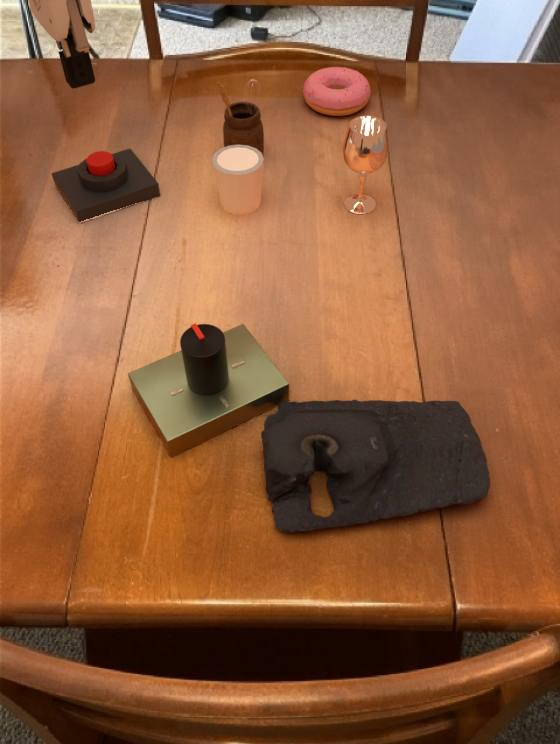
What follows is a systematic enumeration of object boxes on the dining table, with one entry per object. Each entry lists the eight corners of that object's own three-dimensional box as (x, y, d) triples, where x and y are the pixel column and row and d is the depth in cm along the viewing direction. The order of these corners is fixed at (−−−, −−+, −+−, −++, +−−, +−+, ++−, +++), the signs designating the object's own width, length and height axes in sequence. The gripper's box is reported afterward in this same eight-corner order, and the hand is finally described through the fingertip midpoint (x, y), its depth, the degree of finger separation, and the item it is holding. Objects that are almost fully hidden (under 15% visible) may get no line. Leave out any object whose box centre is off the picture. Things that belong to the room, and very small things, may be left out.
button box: (79, 224, 92) (72, 200, 89) (55, 186, 97) (47, 162, 94) (160, 196, 96) (156, 172, 93) (132, 161, 101) (128, 136, 98)
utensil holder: (271, 156, 102) (270, 79, 92) (236, 170, 100) (231, 93, 90) (250, 138, 105) (247, 61, 96) (215, 151, 103) (208, 74, 93)
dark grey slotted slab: (498, 530, 64) (511, 506, 60) (263, 538, 63) (262, 514, 59) (465, 399, 73) (474, 371, 69) (261, 405, 73) (259, 377, 69)
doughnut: (362, 125, 107) (364, 100, 104) (294, 114, 109) (295, 90, 106) (375, 90, 114) (378, 66, 110) (311, 81, 116) (312, 57, 112)
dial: (236, 384, 71) (232, 344, 66) (197, 401, 69) (190, 361, 65) (217, 356, 73) (212, 315, 68) (180, 371, 72) (172, 331, 67)
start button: (94, 180, 92) (91, 169, 91) (85, 166, 94) (82, 155, 93) (119, 172, 93) (117, 161, 92) (109, 159, 95) (107, 148, 94)
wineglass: (374, 189, 96) (384, 111, 87) (385, 214, 93) (396, 136, 84) (335, 193, 96) (340, 115, 87) (344, 219, 92) (350, 140, 83)
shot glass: (226, 223, 92) (222, 179, 87) (208, 194, 96) (204, 151, 91) (272, 209, 94) (272, 166, 88) (253, 182, 98) (251, 139, 92)
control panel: (171, 457, 69) (166, 440, 66) (132, 390, 74) (127, 372, 72) (289, 400, 73) (289, 382, 71) (244, 341, 79) (243, 322, 76)
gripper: (-17, -103, 73) (32, 65, 87) (26, -58, 65) (73, 119, 79) (51, -115, 75) (88, 50, 89) (100, -73, 67) (133, 102, 81)
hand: (81, 82), depth 84 cm, fingers closed
